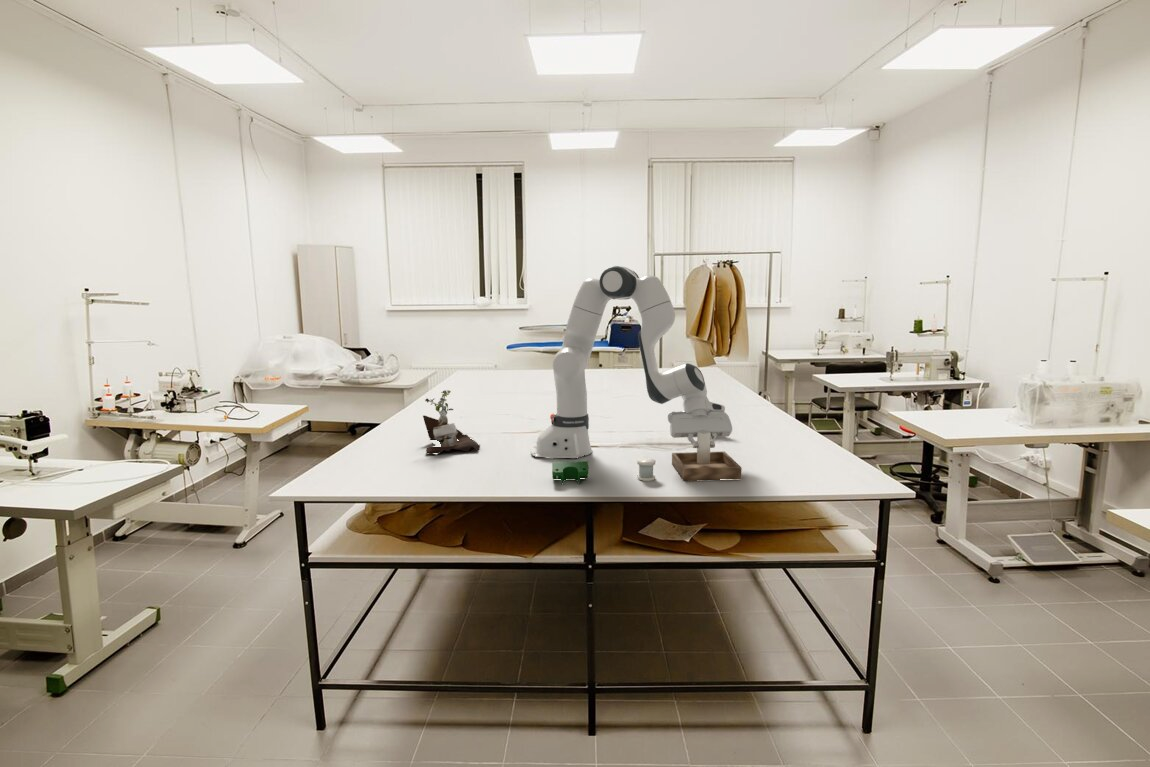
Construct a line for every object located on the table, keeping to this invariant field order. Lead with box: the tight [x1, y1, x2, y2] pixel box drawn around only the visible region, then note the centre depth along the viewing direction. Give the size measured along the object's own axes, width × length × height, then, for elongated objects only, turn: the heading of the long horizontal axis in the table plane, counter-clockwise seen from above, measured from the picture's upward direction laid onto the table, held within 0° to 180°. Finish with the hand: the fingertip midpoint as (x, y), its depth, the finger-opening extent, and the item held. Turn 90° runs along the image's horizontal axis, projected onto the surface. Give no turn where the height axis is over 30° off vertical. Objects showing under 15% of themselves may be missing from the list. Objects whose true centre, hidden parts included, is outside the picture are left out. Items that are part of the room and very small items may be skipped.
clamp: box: [551, 461, 590, 484], centre depth 183 cm, size 12×6×9 cm, turn 86°
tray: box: [671, 450, 743, 482], centre depth 191 cm, size 18×18×4 cm
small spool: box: [636, 457, 656, 482], centre depth 185 cm, size 6×6×6 cm
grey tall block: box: [696, 430, 712, 464], centre depth 192 cm, size 4×4×11 cm
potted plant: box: [422, 389, 480, 454], centre depth 225 cm, size 20×19×25 cm
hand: (704, 447), depth 191 cm, fingers closed on grey tall block, 4 cm apart
